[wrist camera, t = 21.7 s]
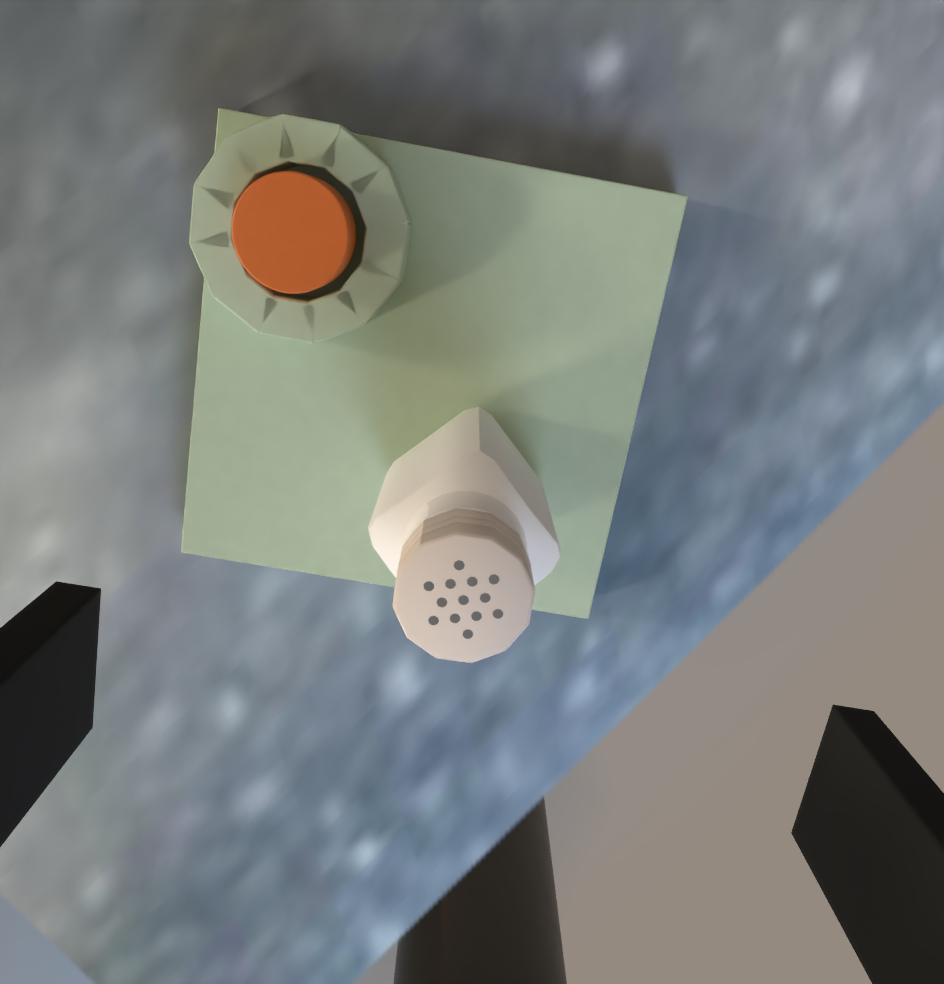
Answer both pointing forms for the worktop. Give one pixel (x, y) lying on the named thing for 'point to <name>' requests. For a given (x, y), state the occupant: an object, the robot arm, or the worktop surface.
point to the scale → (418, 345)
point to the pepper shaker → (464, 539)
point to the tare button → (293, 232)
